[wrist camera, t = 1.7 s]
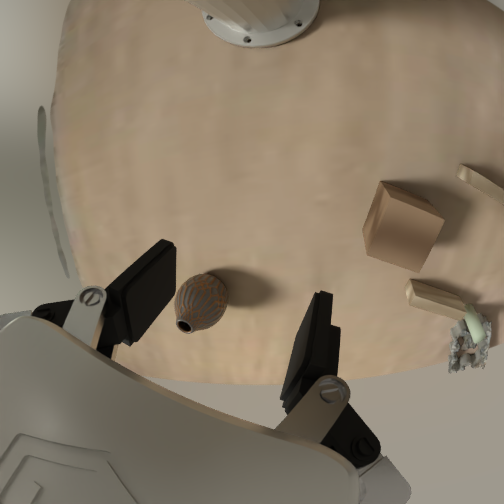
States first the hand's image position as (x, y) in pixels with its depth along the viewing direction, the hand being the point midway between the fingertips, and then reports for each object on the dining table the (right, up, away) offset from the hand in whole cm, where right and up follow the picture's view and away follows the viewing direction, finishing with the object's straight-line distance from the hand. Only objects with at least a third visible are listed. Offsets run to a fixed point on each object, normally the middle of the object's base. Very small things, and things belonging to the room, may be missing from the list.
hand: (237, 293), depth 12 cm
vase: (-5, -3, +27) cm, 28 cm away
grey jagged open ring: (+35, -12, +19) cm, 41 cm away
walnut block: (+16, +6, +15) cm, 23 cm away
